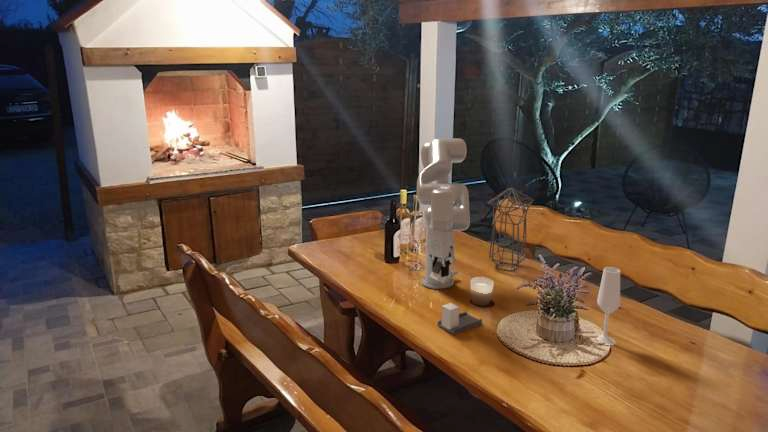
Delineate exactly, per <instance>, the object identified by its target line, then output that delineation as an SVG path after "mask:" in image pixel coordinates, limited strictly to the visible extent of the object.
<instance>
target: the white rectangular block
mask: <svg viewBox="0 0 768 432" xmlns="http://www.w3.org/2000/svg"><path fill="white" fill-rule="evenodd" d="M441 266H443V265H442V260H440V259H438V260H437V261H436V263H435V266H434V268H433V270H432V272H431V274H430V276H429V277H431V278H433V279H435V280H437V281H439V282H441V283H445V281H446V278H447V276H445V277H441ZM452 268H453V265H452V264H450V265H449V272H450V270H451V271H452Z"/></svg>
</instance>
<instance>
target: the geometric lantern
mask: <svg viewBox="0 0 768 432" xmlns="http://www.w3.org/2000/svg"><path fill="white" fill-rule="evenodd" d="M511 194H512V195H513V196H511ZM521 195H522V196H523V197H522V196H521ZM502 197H504V198H503V199H502V201H501V202H500V199H501V198H502ZM511 199H513V200H511ZM505 200H507V201H506V205H505V206H503V205H502V204H503V203H504V202H505ZM518 201H519V202H518ZM534 201H535V199H533V198H532V197H530V196H527V195H526V194H524V193H523V192H521V191H519V190H517V189H516V188H515V187H507V188H506V189H505V190H504V191H502V192H500V193H499V194H498V195H497V196H495V197H493V198H492V199H490V200H489V201H487V202H486V203H487V204H488V205H490V206H492V207H493V209H492V211H493V212H492V219H493V220H492V221H493V224H492V232H491V239H490V246H489V247H490V248H489V256H488V259H489V260H490V261H491V262H492V263H493V264H494V268H495V269H497V270H502V271H509V272H515V271H516V269H518V268H519V266H520V263H521V262H523V261H525V259H526V258H527V257H528V253H527V251H528V250H527V214H528V211H529V209H530V207H531V205H532V204H533V203H534ZM509 202H510V203H511V205H510V206H509ZM515 202H516V203H515ZM497 207H498V208H497ZM502 208H504V211H503V209H502ZM507 209H508V210H507ZM519 209H521V210H522V213H523V214H522V215H517V214H509V213H512V212H514V211H518V210H519ZM495 210H497V211H498V212H499V215H497V216H495ZM504 216H505V221H503V217H504ZM511 216H512V217H513V216H514V217H518V218H520V219H519V220H518V223H515V222H514V221H513V220H512V218H511ZM499 217H501V218H500V220H498V219H499ZM508 218H509V221H511V222H507V220H508ZM522 218H523V219H522ZM496 223H500V225H499V235H498V242H497V243H498V244H497V250H496V251H495V252H494V249H495V238H496V237H495V235H496ZM521 223H523V230H522V231H523V235H522V253H521V252H519V251H520V233H519V232H520V231H519V230H520V224H521ZM503 224H504V230H503V231H504V234H503V236H504V237H503V247H502V249H500V244H501V243H500V242H501V235H502V226H503ZM507 225H512V240H511V241H512V242H511V243H512V244H511V248H512V249H511V251H510V250H505V248H506V247H505V246H506V245H505V244H506V235H507ZM515 226H517V227H516V228H517V237H516V238H517V243H516V244H517V245H516V246H517V247H516V248H517V249H516V250H517V252H515V251H514V248H515V245H514V244H515ZM500 252H502V253H501V255H500ZM504 252H506V253H510V254H511V258H507V257H504ZM496 254H498V256H499V259H498V260H497V259H494V256H495V255H496ZM514 254H517V259H514ZM522 256H523V258H522ZM520 258H521V259H520ZM504 260H508V261H511V262H507V261H504ZM514 261H516V262H515V263H514ZM506 264H507V265H506ZM510 265H511V266H510ZM498 266H501V268H500V267H498ZM502 266H503V267H508V268H511V269H506V268H502Z"/></svg>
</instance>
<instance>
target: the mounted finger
mask: <svg viewBox="0 0 768 432" xmlns="http://www.w3.org/2000/svg"><path fill="white" fill-rule="evenodd" d="M459 314H460V306H459V305H456V304H454V303H452V302H449V303H446V304H444V305H441V320H442V324H441V325H442V326H444V327H446V328H448V329H449V330H450V329H453V328H455V327H458V326H459Z"/></svg>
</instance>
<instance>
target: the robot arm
mask: <svg viewBox="0 0 768 432" xmlns="http://www.w3.org/2000/svg"><path fill="white" fill-rule="evenodd" d="M420 149H421V150H420V155H421V156H420V157H421V163H422V166H423V167H422V168H423V170H422V171H421V172H420V173H419V174H418V177H417V180H416V198H417V202H418V203H419V204H421V205H423V206H429V207H427V208H426V209H425V210H424V213H423V215H424V216H423V219H424V220H423V221H424V227H425V276H424V277H422V279H421V284H422V286H423V287H425V288H429V289H435V290H442V289H448V288H451V287H453V285H454V279H453V276H456V275H459V270H457V269H455V270H453V271H452V269H451V270H450V272H449V265H452V263H454V262H456V261H457V260H456V256H455V250H456V249H455V247H456V246H455V233H454V232H458V231H459V232H461V231H462V232H463V231H466V230H468V229H469V227H470V223H471V217H470V216H471V214H470V213H471V212H470V199H469V198H470V197H469V191H468V188H467V186H466V185H465V184H463V183H456V182H453V183H452V182H451V183H450V181H449V178H450V177H449V175H450V174H451V172H452V169H453V167H452V166H453V165H452V164H457V163H459V164H461V163H462V162H463V161H464V160H465V159H466V158H467V152H468V151H467V144H466V141H465V140H464V139H462V138H457V137H456V138H453V137H449V138H448V137H445V138H444V137H443V138H442V137H441V138H438V137H437V138H435V139H432V140H431V141H429V142H426V143H424V144H423V145H422V146H421V148H420ZM438 259H440V260H442V265H443V266H441V277H445V276H447V278H446V281H445V283H441V282H439V281H437V280H435V279H433V278H431V277H429V276H430V274H431V272H432V270H433V268H434V266H435V263H436V261H437V260H438Z"/></svg>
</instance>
